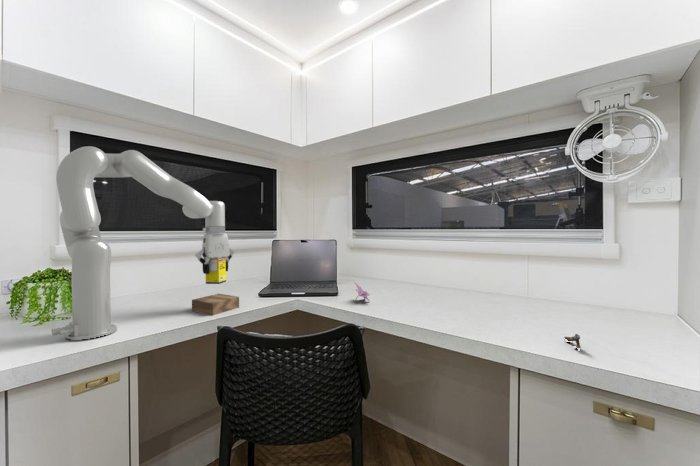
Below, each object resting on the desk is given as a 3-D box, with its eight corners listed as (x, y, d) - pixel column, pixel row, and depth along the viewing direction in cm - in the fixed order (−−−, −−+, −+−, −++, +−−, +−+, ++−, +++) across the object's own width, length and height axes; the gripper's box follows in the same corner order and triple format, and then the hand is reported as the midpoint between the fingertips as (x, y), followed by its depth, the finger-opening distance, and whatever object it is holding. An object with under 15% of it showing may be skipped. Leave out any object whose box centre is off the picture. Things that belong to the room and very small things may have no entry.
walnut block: (212, 316, 121) (212, 303, 121) (191, 311, 127) (191, 299, 127) (239, 308, 132) (239, 296, 132) (218, 304, 138) (218, 293, 138)
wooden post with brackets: (576, 350, 86) (574, 333, 87) (566, 352, 93) (564, 335, 95) (584, 351, 85) (582, 334, 87) (573, 352, 92) (571, 336, 94)
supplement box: (226, 281, 132) (226, 256, 132) (218, 284, 126) (218, 257, 126) (213, 281, 133) (213, 256, 132) (205, 284, 127) (204, 257, 126)
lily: (369, 307, 136) (376, 289, 138) (346, 298, 136) (354, 279, 139) (366, 309, 146) (373, 291, 149) (345, 299, 147) (352, 282, 150)
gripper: (199, 231, 119) (200, 276, 120) (238, 230, 134) (239, 270, 134) (189, 230, 124) (190, 274, 124) (228, 230, 138) (229, 269, 139)
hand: (215, 272), depth 129 cm, fingers closed on supplement box, 8 cm apart
